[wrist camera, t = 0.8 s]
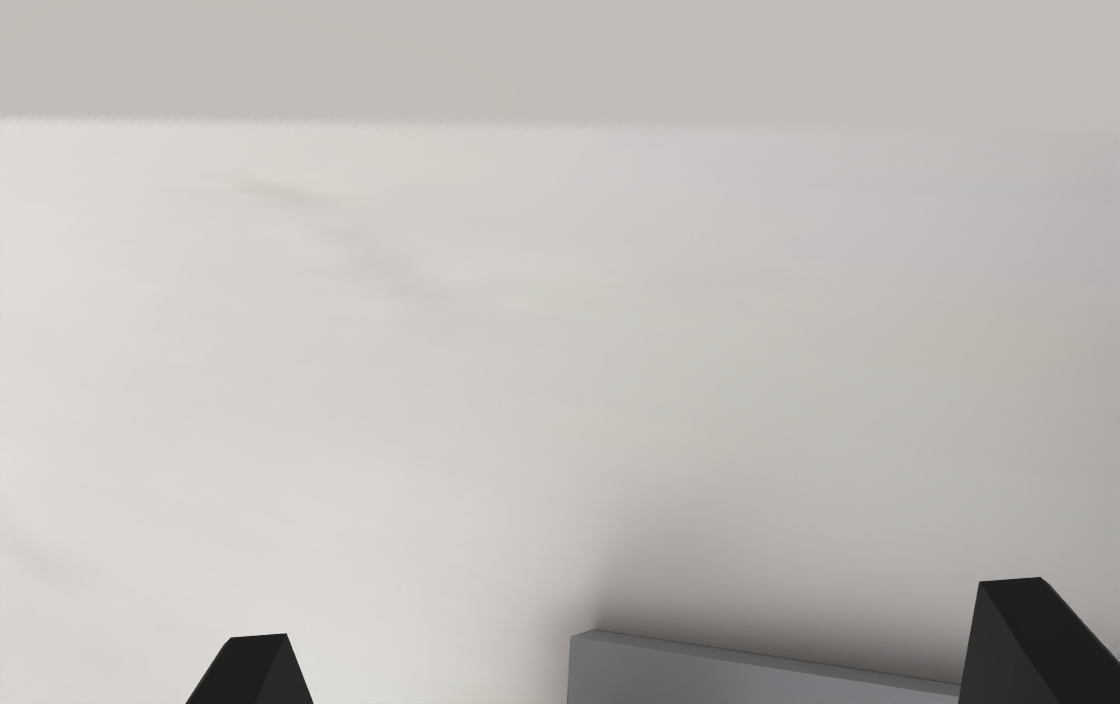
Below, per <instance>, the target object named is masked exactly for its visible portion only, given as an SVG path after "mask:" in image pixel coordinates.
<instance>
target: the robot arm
mask: <svg viewBox="0 0 1120 704" xmlns="http://www.w3.org/2000/svg"><path fill="white" fill-rule="evenodd" d="M186 704H314V703H313V701H312V698H311V696H310V693H309V690H308V688H307V685H306V683H305V680H304V677H303V675H302V672H301V670H300V667H299V664H298V662H297V659H296V657H295V654H294V651H293V649H292V646H291V644H290V641H289V638H288V636H287V633H285V634H271V635H258V636H245V637H231V638H230V639H229V640H228V641H227V642H226V643H225V644H224V645H223V647H222V648H221V650H220V651H219V653H218V654H217V656H216V657H215V659H214V661H213V662H212V664H211V665H210V667H209V668H208V670H207V671H206V673H205V674H204V676H203V677H202V679H201V681H200V682H199V684H198V685H197V687H196V688H195V690H194V691H193V693H192V694H191V696H190V697H189V699H188V701H187V702H186ZM958 704H1120V662H1119V661H1118V660H1117V659H1116V658H1115V657H1114V656H1113V655H1112V654H1111V653H1110V651H1109V650H1108V649H1107V648H1106V647H1105V646H1104V645H1103V644H1102V643H1101V642H1100V640H1099V639H1098V638H1097V637H1096V636H1095V635H1094V634H1093V633H1092V632H1091V630H1090V629H1089V628H1088V627H1087V626H1086V625H1085V624H1084V623H1083V622H1082V620H1081V619H1080V618H1079V617H1078V616H1077V615H1076V614H1075V613H1074V611H1073V610H1072V609H1071V608H1070V607H1069V606H1068V605H1067V604H1066V602H1065V601H1064V600H1063V599H1062V598H1061V597H1060V596H1059V595H1058V593H1057V592H1056V591H1055V590H1054V589H1053V588H1052V587H1051V585H1050V584H1048V583H1047V582H1046V581H1045V580H1044V579H1042V578H1041V577H1034V578H1021V579H1008V580H994V581H981V582H979V586H978V592H977V598H976V603H975V609H974V615H973V620H972V626H971V632H970V637H969V643H968V649H967V655H966V660H965V666H964V672H963V677H962V683H961V689H960V695H959V700H958Z"/></svg>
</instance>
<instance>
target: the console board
mask: <svg viewBox="0 0 1120 704" xmlns="http://www.w3.org/2000/svg"><path fill="white" fill-rule="evenodd" d="M960 689H961V685H959V684H953V683H946V682H939V681H933V680H926V679H919V678H913V677H906V676H899V675H893V674H886V673H879V672H873V671H866V670H859V669H853V668H846V667H839V666H833V665H826V664H819V663H813V662H806V661H799V660H793V659H786V658H779V657H773V656H766V655H759V654H753V653H746V652H739V651H733V650H726V649H719V648H713V647H706V646H699V645H693V644H686V643H679V642H673V641H666V640H659V639H653V638H646V637H639V636H633V635H626V634H619V633H613V632H606V631H599V630H591V631H587V632H584V633H581V634H578V635H575V636H572V637H571V639H570V658H569V677H568V696H567V704H958V700H959V695H960Z"/></svg>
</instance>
